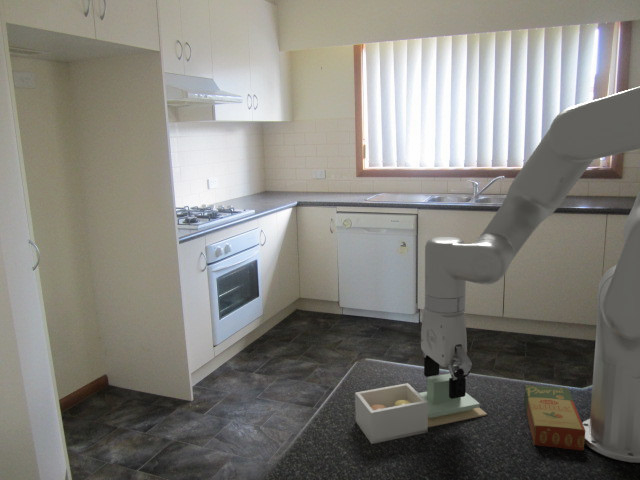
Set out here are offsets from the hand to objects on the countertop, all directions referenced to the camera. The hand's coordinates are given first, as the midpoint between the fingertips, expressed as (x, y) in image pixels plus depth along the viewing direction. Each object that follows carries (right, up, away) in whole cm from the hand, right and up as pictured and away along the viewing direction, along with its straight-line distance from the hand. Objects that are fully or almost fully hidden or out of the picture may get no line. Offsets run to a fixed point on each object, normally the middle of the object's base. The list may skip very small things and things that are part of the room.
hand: (443, 385), depth 104 cm
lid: (0, -4, +1) cm, 4 cm away
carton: (+19, -6, -5) cm, 20 cm away
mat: (0, -5, +1) cm, 5 cm away
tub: (-11, -6, -5) cm, 14 cm away
